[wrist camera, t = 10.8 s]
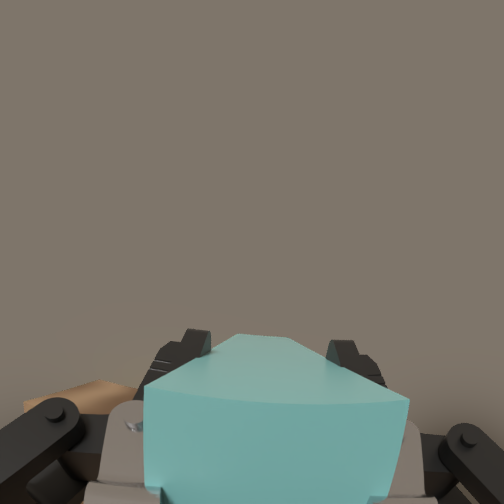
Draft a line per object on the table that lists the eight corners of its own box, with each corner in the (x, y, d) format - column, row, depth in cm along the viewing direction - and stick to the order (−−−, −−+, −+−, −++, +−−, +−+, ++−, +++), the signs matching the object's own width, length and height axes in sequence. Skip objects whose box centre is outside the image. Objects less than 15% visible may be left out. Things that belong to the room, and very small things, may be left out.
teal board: (284, 373, 23) (287, 337, 23) (372, 537, 3) (410, 399, 4) (234, 370, 23) (237, 333, 23) (148, 529, 3) (144, 386, 4)
